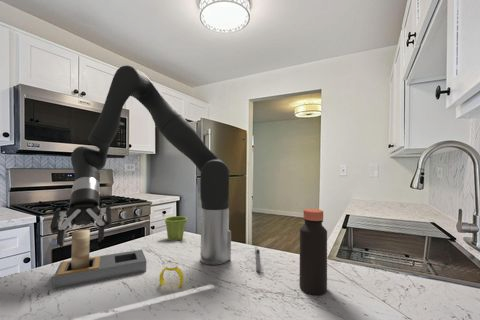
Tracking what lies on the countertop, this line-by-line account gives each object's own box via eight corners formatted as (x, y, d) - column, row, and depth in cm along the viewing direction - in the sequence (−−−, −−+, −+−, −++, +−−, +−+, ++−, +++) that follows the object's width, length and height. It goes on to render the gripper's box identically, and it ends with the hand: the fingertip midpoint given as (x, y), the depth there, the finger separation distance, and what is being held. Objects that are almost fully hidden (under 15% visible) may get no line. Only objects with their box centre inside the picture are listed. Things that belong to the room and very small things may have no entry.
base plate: (141, 262, 75) (142, 248, 75) (146, 274, 66) (146, 259, 67) (60, 276, 65) (60, 261, 65) (52, 293, 56) (53, 276, 56)
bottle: (294, 284, 62) (294, 209, 62) (314, 280, 64) (314, 207, 65) (311, 298, 56) (311, 213, 56) (333, 292, 58) (333, 212, 59)
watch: (183, 288, 60) (186, 265, 60) (179, 294, 57) (181, 270, 57) (162, 284, 61) (164, 261, 61) (156, 289, 58) (159, 265, 58)
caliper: (259, 272, 69) (260, 251, 69) (256, 272, 69) (256, 251, 69) (257, 248, 90) (257, 232, 90) (254, 248, 90) (254, 232, 90)
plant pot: (166, 235, 103) (166, 216, 104) (187, 235, 104) (188, 216, 105) (161, 242, 94) (161, 221, 94) (185, 242, 95) (185, 220, 95)
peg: (89, 271, 66) (90, 228, 66) (88, 277, 62) (89, 232, 62) (72, 274, 64) (72, 230, 64) (70, 281, 60) (70, 234, 60)
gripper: (55, 188, 67) (45, 239, 57) (112, 186, 74) (111, 231, 64) (58, 203, 72) (49, 254, 61) (111, 200, 79) (110, 245, 68)
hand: (81, 242), depth 63 cm, fingers open, 8 cm apart
